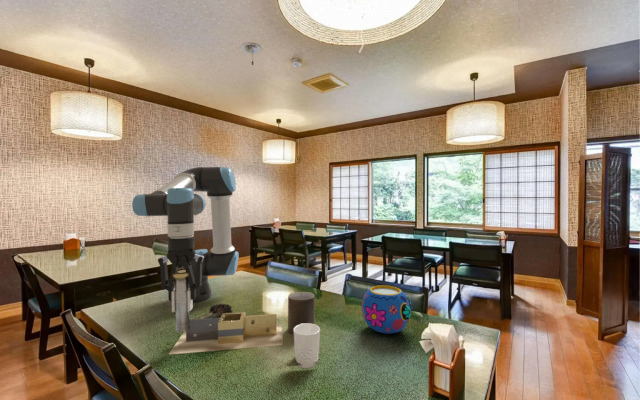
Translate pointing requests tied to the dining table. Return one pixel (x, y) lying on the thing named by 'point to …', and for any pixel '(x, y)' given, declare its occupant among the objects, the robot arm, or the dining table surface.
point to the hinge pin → (181, 301)
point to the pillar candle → (300, 309)
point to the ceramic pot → (386, 309)
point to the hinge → (231, 327)
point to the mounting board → (214, 346)
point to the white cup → (306, 344)
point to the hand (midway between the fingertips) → (182, 309)
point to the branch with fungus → (217, 311)
